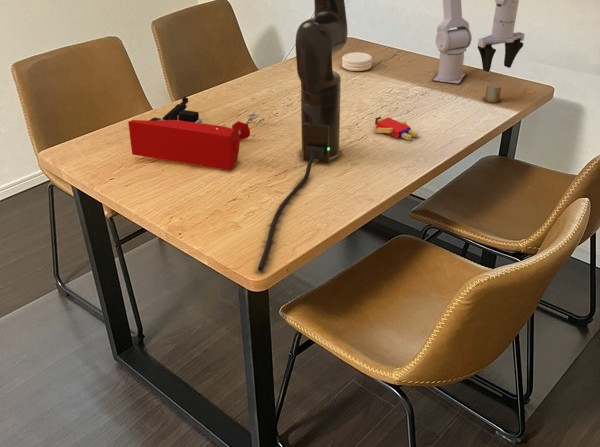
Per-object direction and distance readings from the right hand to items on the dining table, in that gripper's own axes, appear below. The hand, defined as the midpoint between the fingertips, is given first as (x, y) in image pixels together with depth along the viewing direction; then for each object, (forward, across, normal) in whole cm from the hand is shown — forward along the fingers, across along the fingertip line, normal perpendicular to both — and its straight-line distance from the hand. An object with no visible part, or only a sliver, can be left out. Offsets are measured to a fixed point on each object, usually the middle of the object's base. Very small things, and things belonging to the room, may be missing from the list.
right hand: (496, 68), depth 177 cm
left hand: (-29, -77, +20) cm, 85 cm away
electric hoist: (+9, -84, +11) cm, 85 cm away
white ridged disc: (+9, -21, +44) cm, 49 cm away
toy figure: (+9, -38, -7) cm, 40 cm away
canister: (+9, 0, 0) cm, 9 cm away
